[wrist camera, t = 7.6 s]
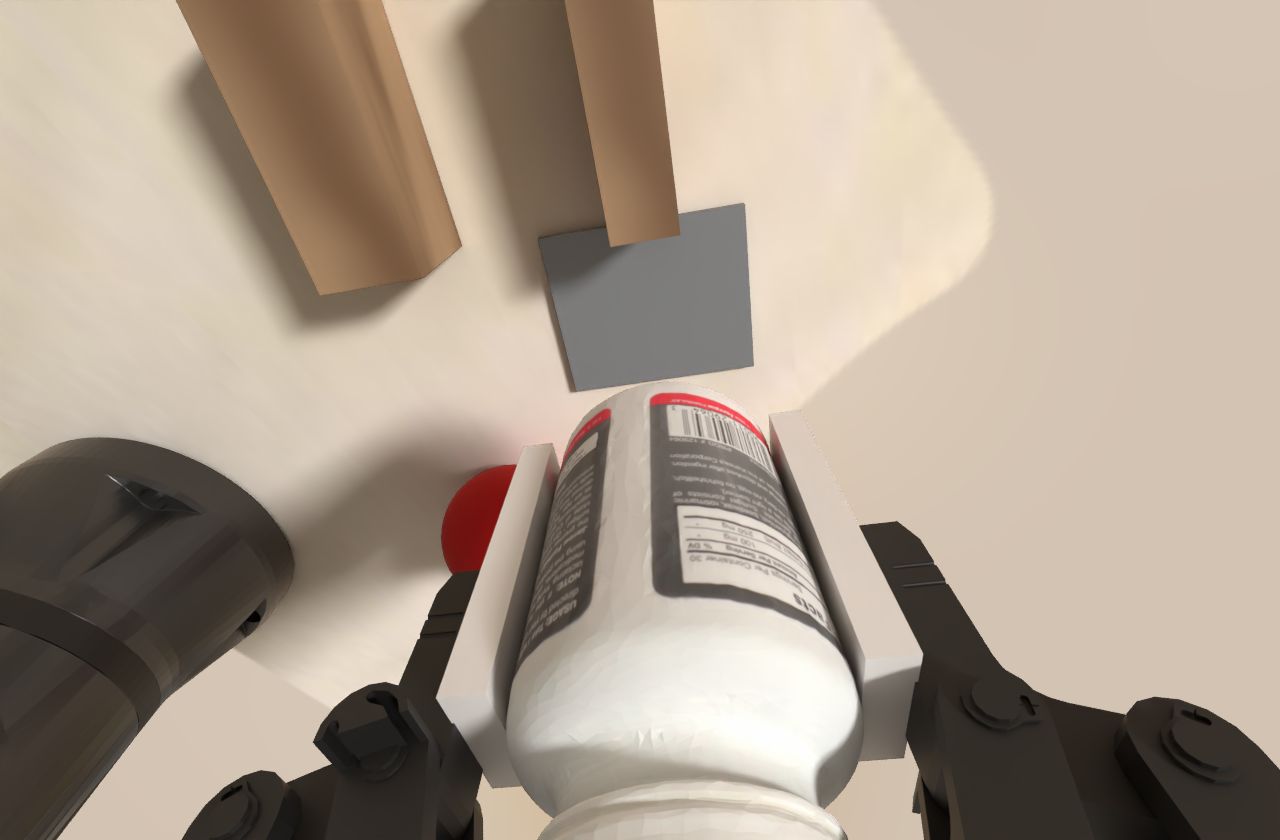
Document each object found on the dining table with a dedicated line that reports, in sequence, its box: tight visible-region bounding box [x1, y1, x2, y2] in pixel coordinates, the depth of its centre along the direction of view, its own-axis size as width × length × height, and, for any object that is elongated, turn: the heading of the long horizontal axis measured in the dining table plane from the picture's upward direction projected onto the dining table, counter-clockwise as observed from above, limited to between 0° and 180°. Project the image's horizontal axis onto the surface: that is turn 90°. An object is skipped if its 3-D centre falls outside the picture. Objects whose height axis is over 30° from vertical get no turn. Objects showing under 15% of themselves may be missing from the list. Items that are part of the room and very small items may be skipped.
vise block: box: [176, 0, 681, 295], centre depth 19 cm, size 14×10×5 cm
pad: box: [538, 203, 754, 392], centre depth 25 cm, size 9×8×1 cm
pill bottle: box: [506, 382, 864, 840], centre depth 10 cm, size 5×5×10 cm
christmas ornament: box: [441, 465, 517, 574], centre depth 26 cm, size 7×7×10 cm
